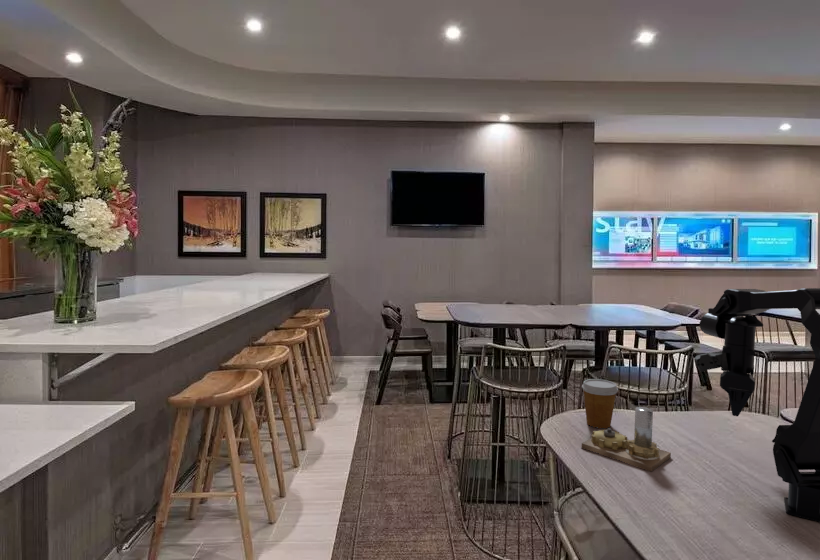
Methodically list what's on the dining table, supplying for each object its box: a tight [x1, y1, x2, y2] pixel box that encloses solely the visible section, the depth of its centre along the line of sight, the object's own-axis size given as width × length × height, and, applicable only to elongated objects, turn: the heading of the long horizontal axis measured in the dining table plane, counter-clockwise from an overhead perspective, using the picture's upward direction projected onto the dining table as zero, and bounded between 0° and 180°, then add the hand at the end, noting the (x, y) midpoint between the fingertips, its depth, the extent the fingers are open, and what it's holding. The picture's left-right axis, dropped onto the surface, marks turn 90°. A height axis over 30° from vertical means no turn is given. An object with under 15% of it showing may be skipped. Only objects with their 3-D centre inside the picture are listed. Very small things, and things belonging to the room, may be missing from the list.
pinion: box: [627, 406, 660, 459], centre depth 115 cm, size 7×7×10 cm
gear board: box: [581, 427, 672, 472], centre depth 119 cm, size 17×11×5 cm, turn 41°
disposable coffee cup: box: [581, 378, 619, 429], centre depth 137 cm, size 10×10×12 cm
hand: (735, 410), depth 112 cm, fingers open, 9 cm apart
